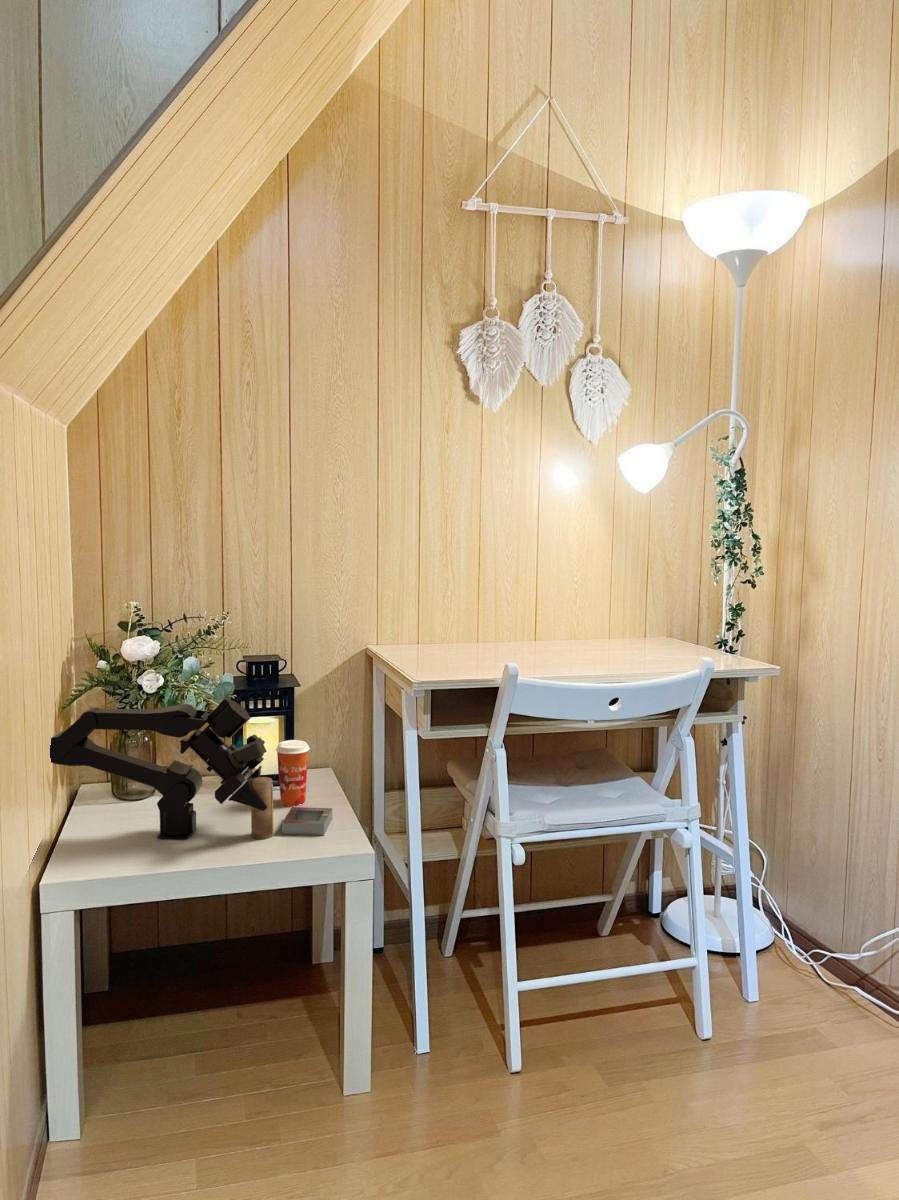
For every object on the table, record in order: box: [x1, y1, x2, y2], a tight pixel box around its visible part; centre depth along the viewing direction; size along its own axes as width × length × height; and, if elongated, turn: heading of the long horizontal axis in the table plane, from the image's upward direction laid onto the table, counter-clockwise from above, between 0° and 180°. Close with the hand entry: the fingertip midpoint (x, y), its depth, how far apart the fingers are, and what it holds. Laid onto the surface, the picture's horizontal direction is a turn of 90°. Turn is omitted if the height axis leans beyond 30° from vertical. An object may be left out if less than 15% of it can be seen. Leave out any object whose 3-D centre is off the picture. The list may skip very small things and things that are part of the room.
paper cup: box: [275, 739, 311, 807], centre depth 219 cm, size 8×8×14 cm
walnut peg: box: [250, 776, 274, 840], centre depth 197 cm, size 4×4×12 cm
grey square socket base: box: [281, 806, 333, 836], centre depth 204 cm, size 9×10×3 cm
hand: (268, 805), depth 197 cm, fingers closed on walnut peg, 4 cm apart
